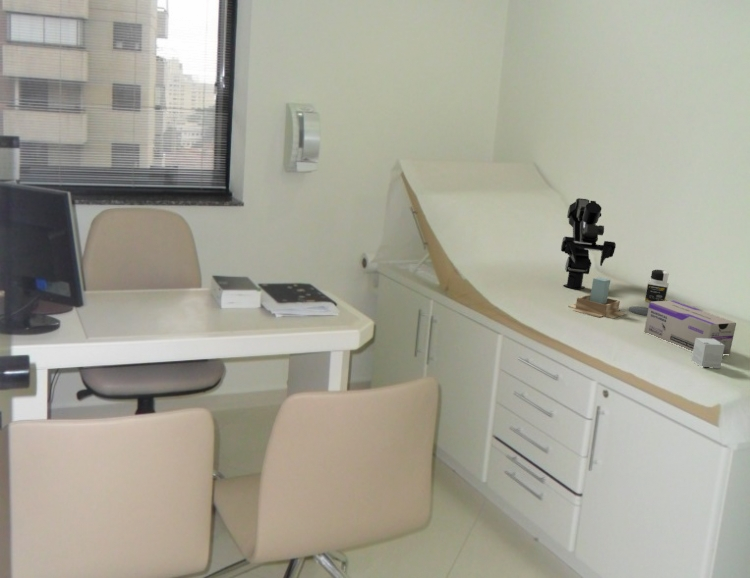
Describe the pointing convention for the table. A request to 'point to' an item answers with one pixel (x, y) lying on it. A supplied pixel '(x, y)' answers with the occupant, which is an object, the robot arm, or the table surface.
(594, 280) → the slim box
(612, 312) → the carton
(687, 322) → the surgical sutures box
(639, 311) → the mat
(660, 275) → the medicine bottle
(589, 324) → the table surface
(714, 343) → the skincare box
